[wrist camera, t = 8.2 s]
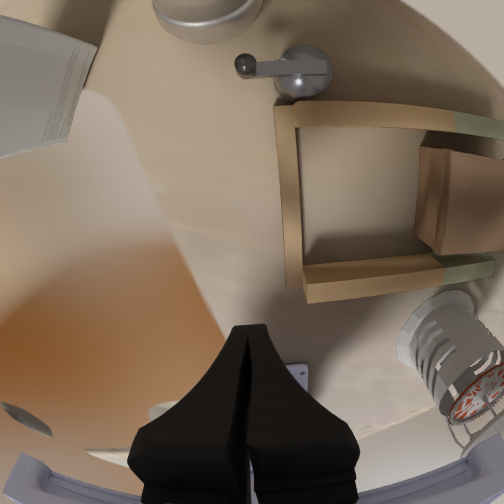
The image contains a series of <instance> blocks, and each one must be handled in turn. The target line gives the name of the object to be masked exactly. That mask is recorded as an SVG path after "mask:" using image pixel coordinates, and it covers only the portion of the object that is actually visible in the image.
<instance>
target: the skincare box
mask: <svg viewBox="0 0 504 504" xmlns="http://www.w3.org/2000/svg"><path fill="white" fill-rule="evenodd" d="M96 51H97V47H96V46H94V45H92V44H90V43H87V42H84V41H82V40H79V39H76V38H73V37H71V36H68V35H65V34H62V33H59V32H56V31H53V30H50V29H47V28H44V27H41V26H38V25H35V24H32V23H28V22H25V21H21V20H18V19H14V18H10V17H6V16H2V15H0V159H1V158H4V157H7V156H11V155H14V154H18V153H22V152H26V151H29V150H33V149H37V148H41V147H46V146H51V145H55V144H60V143H65V142H66V141H67V138H68V134H69V130H70V127H71V123H72V119H73V115H74V112H75V109H76V106H77V103H78V99H79V96H80V93H81V91H82V88H83V85H84V82H85V79H86V76H87V73H88V71H89V68H90V65H91V63H92V60H93V58H94V55H95V53H96Z"/></svg>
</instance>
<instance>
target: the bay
mask: <svg viewBox="0 0 504 504" xmlns="http://www.w3.org/2000/svg"><path fill="white" fill-rule="evenodd" d="M273 111H274V121H275V132H276V143H277V155H278V167H279V179H280V193H281V207H282V221H283V237H284V254H285V272H286V286H287V290H289V289H300V288H303V290H304V293H305V296H306V300H307V303H308V304H309V303H319V302H328V301H337V300H346V299H354V298H362V297H370V296H377V295H384V294H392V293H398V292H405V291H412V290H418V289H424V288H431V287H437V286H443V285H448V284H454V283H459V282H465V281H470V280H475V279H481V278H486V277H491V276H492V275H493V271H494V267H495V262H496V260H495V259H493V258H492V257H490V256H489V255H488V254H486V253H485V252H482V253H467V254H452V255H437V254H436V253H434V252H432V253H423V254H414V255H404V256H395V257H385V258H375V259H365V260H355V261H345V262H334V263H324V264H313V265H303V263H302V234H301V212H300V194H299V177H298V162H297V149H296V136H295V128H299V127H387V128H405V129H419V130H430V131H440V132H449V133H457V134H465V135H472V136H478V137H484V138H492V139H498V140H504V121H500V120H496V119H491V118H487V117H482V116H477V115H473V114H467V113H462V112H456V111H450V110H444V109H437V108H430V107H422V106H414V105H404V104H393V103H380V102H361V101H297V102H296V103H295V104H293V105H285V106H274V107H273Z"/></svg>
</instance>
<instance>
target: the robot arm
mask: <svg viewBox="0 0 504 504" xmlns="http://www.w3.org/2000/svg"><path fill="white" fill-rule="evenodd" d="M301 372H303V373H301ZM307 390H308V366H307V364H294V365H285V364H284V363H283V361H282V360H281V358H280V356H279V355H278V353H277V351H276V349H275V347H274V345H273V343H272V341H271V339H270V336H269V334H268V330H267V326H266V325H265V324H254V325H239V326H234V327H233V328H232V330H231V332H230V335H229V337H228V339H227V341H226V343H225V344H224V346H223V348H222V350H221V351H220V353H219V355H218V356H217V358H216V359H215V361H214V362H213V364H212V365H211V367H210V368H209V369H208V371H207V372H206V374H205V375H204V376H203V377H202V378H201V380H200V381H199V382H198V383H197V384H196V385H195V386H194V388H193V389H192V390H191V391H190V392H189V393H188V394H187V395H186V396H185V397H184V398H182V399H181V400H180V401H179V402H178V403H177V404H175V405H174V406H173V407H172V408H170V409H169V410H168V411H167V412H165V413H164V414H163V415H161V416H160V417H158V418H157V419H155V420H153V421H152V422H150V423H148V424H147V425H145V426H143V427H141V428H140V429H139V430H138V432H137V435H136V436H135V438H134V441H133V443H132V446H131V449H130V453H129V456H128V459H127V464H128V466H129V467H130V469H131V470H132V471H133V472H134V473H135V475H136V476H137V477H138V478H139V479H140V480H141V481H142V482H143V483H144V488H143V492H142V496H138V495H132V494H128V493H123V492H118V491H115V490H111V489H107V488H103V487H99V486H96V485H92V484H89V483H86V482H82V481H79V480H76V479H73V478H70V477H67V476H65V475H62V474H59V473H56V472H54V471H51V469H50V468H49V467H48V466H47V465H46V464H45V463H43V462H42V461H40V460H38V459H36V458H34V457H32V456H29V455H27V454H25V453H20V455H19V457H18V459H17V461H16V463H15V465H14V467H13V469H12V471H11V474H10V476H9V478H8V480H7V483H6V485H5V487H4V489H3V494H4V495H6V496H7V497H8V498H10V499H11V500H12V501H14V502H15V503H17V504H490V503H492V502H493V501H494V500H495V499H497V498H498V497H500V496H501V495H502V494H503V493H504V440H503V438H502V436H501V434H500V433H497V434H495V435H494V436H492V437H490V438H488V439H486V440H484V441H482V442H480V443H479V444H477V445H476V446H474V447H473V448H472V449H471V450H470V451H469V453H468V454H467V456H466V457H464V458H461V459H459V460H457V461H455V462H452V463H450V464H448V465H446V466H443V467H441V468H438V469H435V470H433V471H430V472H427V473H425V474H422V475H419V476H416V477H414V478H410V479H407V480H404V481H401V482H398V483H394V484H391V485H387V486H384V487H380V488H376V489H372V490H368V491H364V492H360V493H357V488H356V483H355V480H356V473H355V469H354V468H355V466H356V463H357V461H358V459H359V456H360V449H359V445H358V443H357V440H356V438H355V436H354V434H353V432H352V431H351V429H350V427H349V426H348V424H347V423H346V422H344V421H343V420H341V419H340V418H338V417H337V416H335V415H334V414H332V413H331V412H330V411H328V410H327V409H326V408H325V407H323V406H322V405H321V404H320V403H319V402H317V401H316V400H315V399H314V398H313V397H312V396H311V395H310V394H309V393H308V392H307Z"/></svg>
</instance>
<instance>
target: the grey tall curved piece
mask: <svg viewBox="0 0 504 504" xmlns="http://www.w3.org/2000/svg"><path fill="white" fill-rule="evenodd" d="M475 317H476V316H475V315H474V304H473V302H472V300H471V298H470V296H469V295H468V294H466V293H464V292H462V291H460V290H451V291H444V292H442V293H440V294H438V295H436V296H434V297H432V298H430V299H428V300H427V301H426V302H424V303H423V304H422V305H421V306H420V307H419V308H418V309H417V310H416V311H414V312H413V313H412V315H411V316H410V318H409V319H408V321H407V322H406V324H405V325H404V327H403V328H402V330H401V333H400V336H399V339H398V343H397V351H398V358H399V359H400V360H401V361H402V362H403V363H404V364H405V365H406V366H409V367H414V368H417V370H418V372H419V374H420V376H421V374H422V375H423V376H421V377H422V379H423V381H424V383H425V385H426V386H427V388H428V390H429V391H430V393H431V395H432V398H433V399H434V401H435V403H436V405H437V407H438V409H439V411H440V413H441V414H442V415H444V416H445V418H446V421H447V424H448V429H449V431H450V433H451V434H452V436H453V438H454V440H455V442H456V443H457V444H458V445H459V446H460V447H461V448H462V449H463V452H462V454H461V458H464V457H466V456H467V454H468V453H469V451H470V450H471V449H472V448H473V447H474V446H476V445H477V444H479V443H480V442H482V441H484V440H486V439H488V438H490V437H492V436H494V435H495V434H497V433H500V434H501V436H502V438H503V440H504V410H503V411H502V412H500V413H499V414H498V415H496V413H495V412H494V410H493V409H492V406H493V407H494V404H497V401H498V402H499V399H501V398H502V396H504V347H503V345H502V344H501V343H500V342H499V341H498V340H497V338H496V337H495V336H492V334H491V332H490V331H489V330H488V328H485V326H484V324H483V323H482V322H481V321H480V320H478V318H477V317H476V319H477V320H476V319H475ZM481 324H482V325H481ZM482 326H483V327H482ZM488 332H489V333H490V335H491V336H490V335H489V334H488ZM497 350H499V351H500V356H501V361H500V364H499V365H496V366H495V363H496V360H497V357H498V355H497ZM491 352H494V353H493V357H492V361H491V363H490V365H489V366H488V367H487V368H486V369H485V370H484V371H483V372H481V373H479V374H477V375H475V374H474V371H476V370H477V369H479V368H480V367H481V366H482V365H483V364H484V363H485V362H486V361H487V360H488V358H489V355H490V353H491ZM483 356H484V357H483ZM482 357H483V358H482ZM480 358H482V359H481V360H480V361H479V362H478V363H477V364H475V365H474V366H472V367H469V366H471V365H472V364H473V363H474V362H476V361H477V360H478V359H480ZM438 364H440V365H441V368H440V370H439V371H438V372H437V370H436V368H435V366H436V365H438ZM426 383H427V384H428V385H427V384H426ZM451 384H453V385H454V387H455V389H456V390H457V399H456V401H454V398H453V397H452V395H451V393H450V391H449V390H448V388H449V386H450V385H451ZM432 393H433V394H432ZM489 409H490V410H491V412H492V413H493V415H494V418H493V419H492V420H491V421H489V422H488V423H487V424H486V426H484V427H483V428H482V429H481V430H479V431H477V432H475V433H473V434H471V433H470V432H469V430H468V428H467V427H466V425H465V424H466V423H469V422H472V421H474V419H477V417H480V416H481V415H483V414H484V413H486V411H488V410H489ZM448 416H449V419H448ZM450 424H451V425H452V426H456V425H458V426H459V425H463V426H464V428H465V430H466V432H467V434H468V435H469V436H470V441H469V443H468V444H467V445H466V446H465V447H463V446H462V445H461V444H460V443H459V442H458V441H457V439H456V437H455V435H454V433H453V431H452V429H451V427H450ZM461 458H460V459H461Z"/></svg>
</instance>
